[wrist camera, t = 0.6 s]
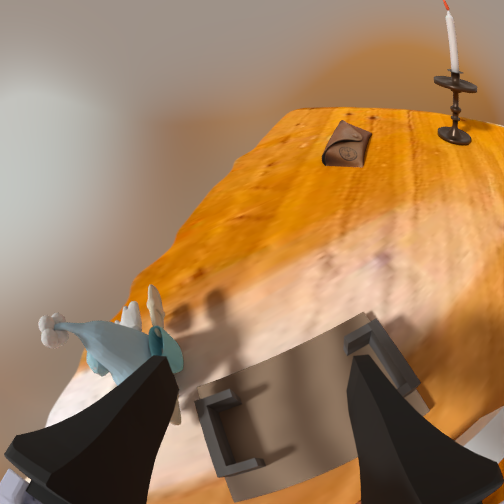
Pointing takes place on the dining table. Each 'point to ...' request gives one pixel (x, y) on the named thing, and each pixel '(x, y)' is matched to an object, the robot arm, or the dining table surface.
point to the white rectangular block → (485, 436)
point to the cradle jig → (295, 409)
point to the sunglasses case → (346, 146)
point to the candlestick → (454, 89)
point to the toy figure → (119, 341)
